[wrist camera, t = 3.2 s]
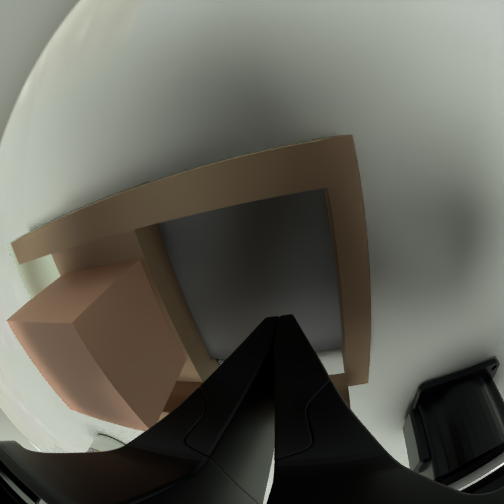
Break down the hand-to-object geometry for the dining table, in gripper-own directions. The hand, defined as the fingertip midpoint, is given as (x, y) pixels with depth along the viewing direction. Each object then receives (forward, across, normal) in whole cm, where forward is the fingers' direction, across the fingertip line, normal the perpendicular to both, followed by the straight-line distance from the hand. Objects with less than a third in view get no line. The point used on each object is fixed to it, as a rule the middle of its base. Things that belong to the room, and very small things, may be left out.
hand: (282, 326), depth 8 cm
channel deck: (+3, +6, 0) cm, 7 cm away
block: (+1, +7, 0) cm, 7 cm away
